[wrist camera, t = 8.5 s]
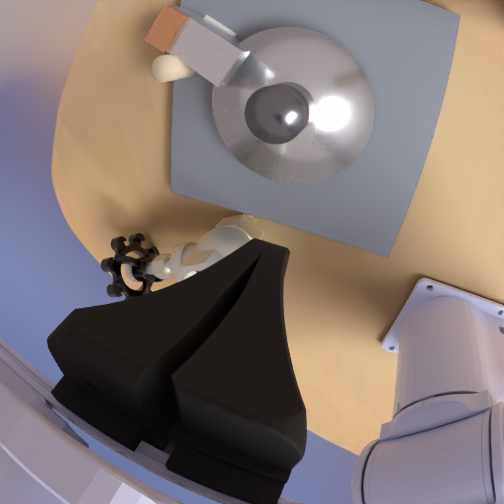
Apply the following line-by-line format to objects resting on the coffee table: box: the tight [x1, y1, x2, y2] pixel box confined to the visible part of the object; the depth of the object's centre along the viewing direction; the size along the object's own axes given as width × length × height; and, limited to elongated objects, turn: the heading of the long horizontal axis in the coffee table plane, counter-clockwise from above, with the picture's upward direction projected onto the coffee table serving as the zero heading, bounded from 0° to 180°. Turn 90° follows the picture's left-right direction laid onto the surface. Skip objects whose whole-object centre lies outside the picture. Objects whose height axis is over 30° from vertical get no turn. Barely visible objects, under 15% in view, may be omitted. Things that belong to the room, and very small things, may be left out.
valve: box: [101, 214, 264, 300], centre depth 24 cm, size 7×7×12 cm
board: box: [151, 0, 460, 258], centre depth 16 cm, size 16×16×4 cm
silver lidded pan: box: [144, 4, 374, 185], centre depth 15 cm, size 14×9×4 cm, turn 56°
